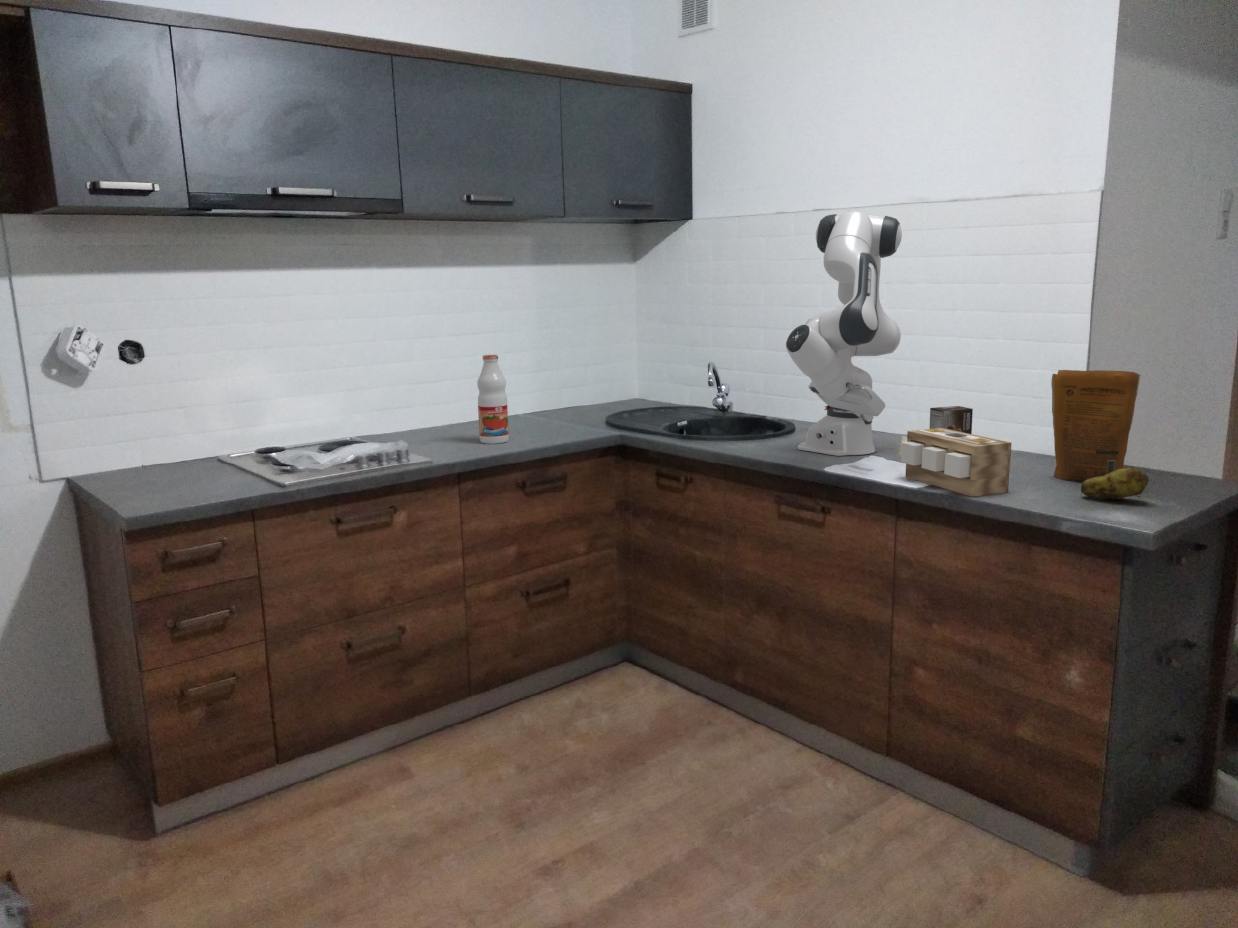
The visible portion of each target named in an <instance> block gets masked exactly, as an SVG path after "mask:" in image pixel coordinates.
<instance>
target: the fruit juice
mask: <svg viewBox="0 0 1238 928" xmlns="http://www.w3.org/2000/svg"><path fill="white" fill-rule="evenodd" d="M482 361H483V365H482V368H481V371H480V375H479V376H478V379H477V389H478V392H479V394H478V396H477V411H478V413H477V414H478V431H479V442H480V443H482V444H486V445H487V444H488V445H492V444H493V445H496V444H498V445H499V444H503V443H507V442H508V441H509V439H510V437H509V415H508V414H509V412H508V409H509V408H508V398H507V394H506V386H507V380H506V378H505V377H504V375H503V373H502V370H501V368H500V366H499V363H498V362H499V356H498V354H486V355H485V354H484V355H482Z"/></svg>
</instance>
